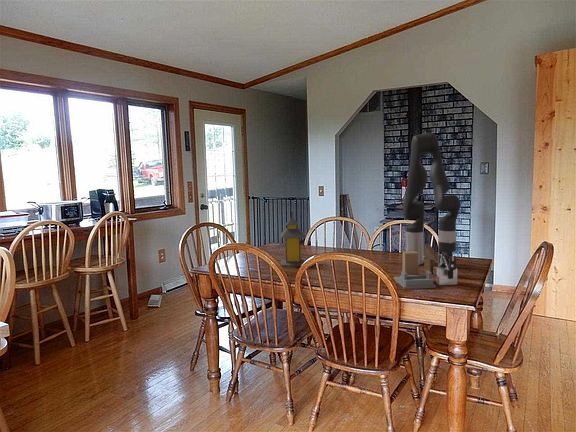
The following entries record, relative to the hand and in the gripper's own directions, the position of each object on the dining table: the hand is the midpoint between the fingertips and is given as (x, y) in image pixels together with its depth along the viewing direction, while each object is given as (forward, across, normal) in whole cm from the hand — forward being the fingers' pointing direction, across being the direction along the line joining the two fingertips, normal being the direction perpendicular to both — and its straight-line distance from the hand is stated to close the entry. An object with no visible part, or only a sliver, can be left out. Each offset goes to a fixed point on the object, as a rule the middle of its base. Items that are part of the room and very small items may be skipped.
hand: (446, 276), depth 198 cm
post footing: (+3, -3, -14) cm, 15 cm away
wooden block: (+4, -17, +1) cm, 17 cm away
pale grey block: (+4, 0, 0) cm, 4 cm away
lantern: (+3, -50, -67) cm, 84 cm away
